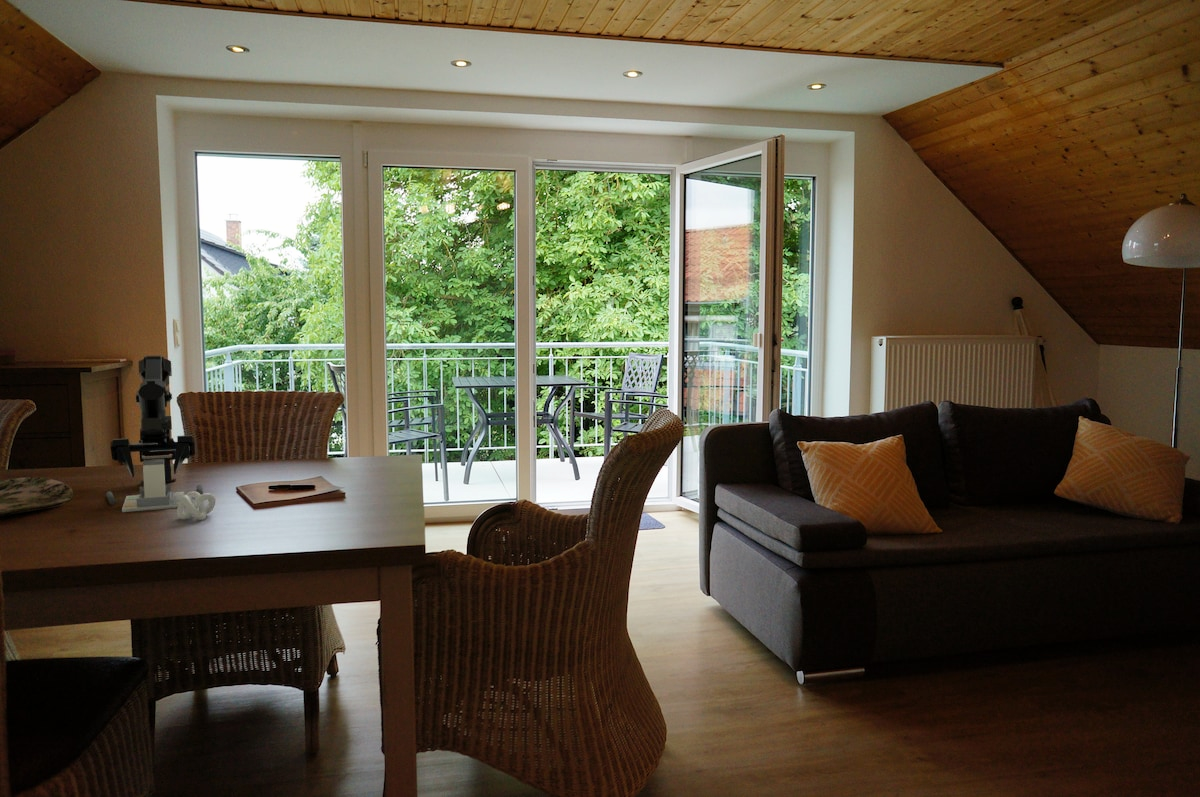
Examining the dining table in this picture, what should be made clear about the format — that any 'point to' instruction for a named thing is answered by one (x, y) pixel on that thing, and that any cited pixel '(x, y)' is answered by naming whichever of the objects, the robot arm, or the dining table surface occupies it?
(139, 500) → the panel
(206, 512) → the knot
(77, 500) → the dining table surface
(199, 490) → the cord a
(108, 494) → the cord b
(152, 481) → the grey upright block
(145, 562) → the dining table surface
